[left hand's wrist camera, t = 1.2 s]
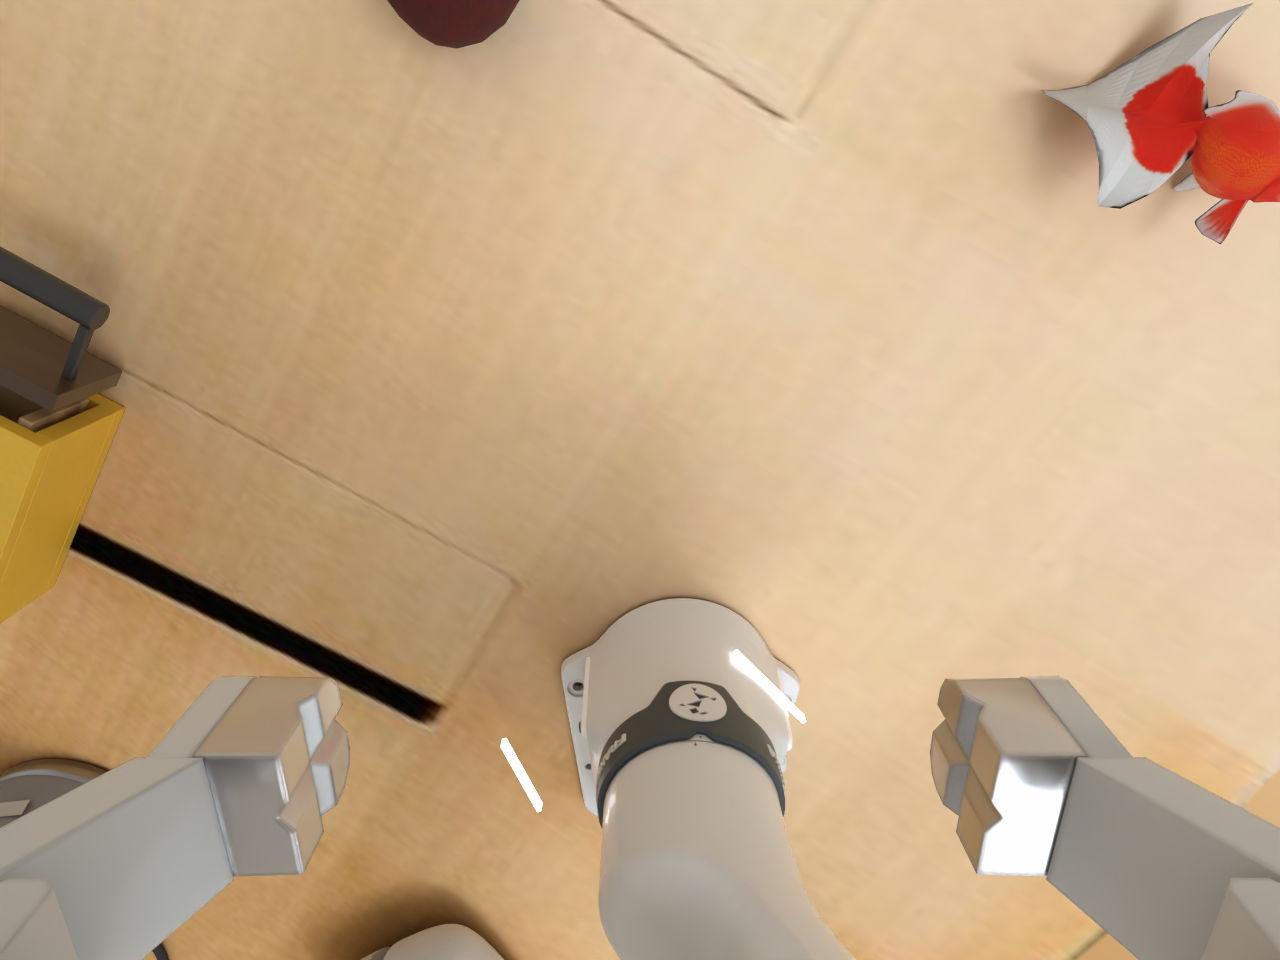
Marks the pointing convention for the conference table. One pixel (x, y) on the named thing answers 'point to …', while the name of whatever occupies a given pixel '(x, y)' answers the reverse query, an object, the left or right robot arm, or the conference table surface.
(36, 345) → the drawer
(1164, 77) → the fish
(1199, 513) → the conference table surface
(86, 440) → the cabinet
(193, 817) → the left robot arm
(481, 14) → the maroon ball
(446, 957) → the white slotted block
